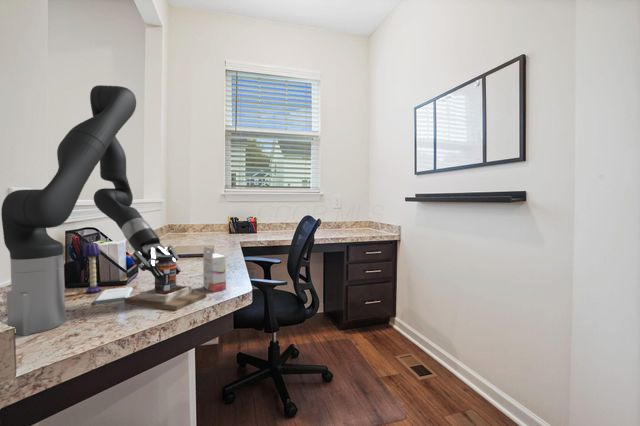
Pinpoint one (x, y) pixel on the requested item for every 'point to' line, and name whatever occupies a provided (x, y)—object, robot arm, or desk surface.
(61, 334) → the desk surface
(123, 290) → the external hard drive
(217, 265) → the ink cartridge box
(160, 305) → the rail board
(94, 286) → the toy lamp
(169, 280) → the supplement bottle
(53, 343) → the desk surface
